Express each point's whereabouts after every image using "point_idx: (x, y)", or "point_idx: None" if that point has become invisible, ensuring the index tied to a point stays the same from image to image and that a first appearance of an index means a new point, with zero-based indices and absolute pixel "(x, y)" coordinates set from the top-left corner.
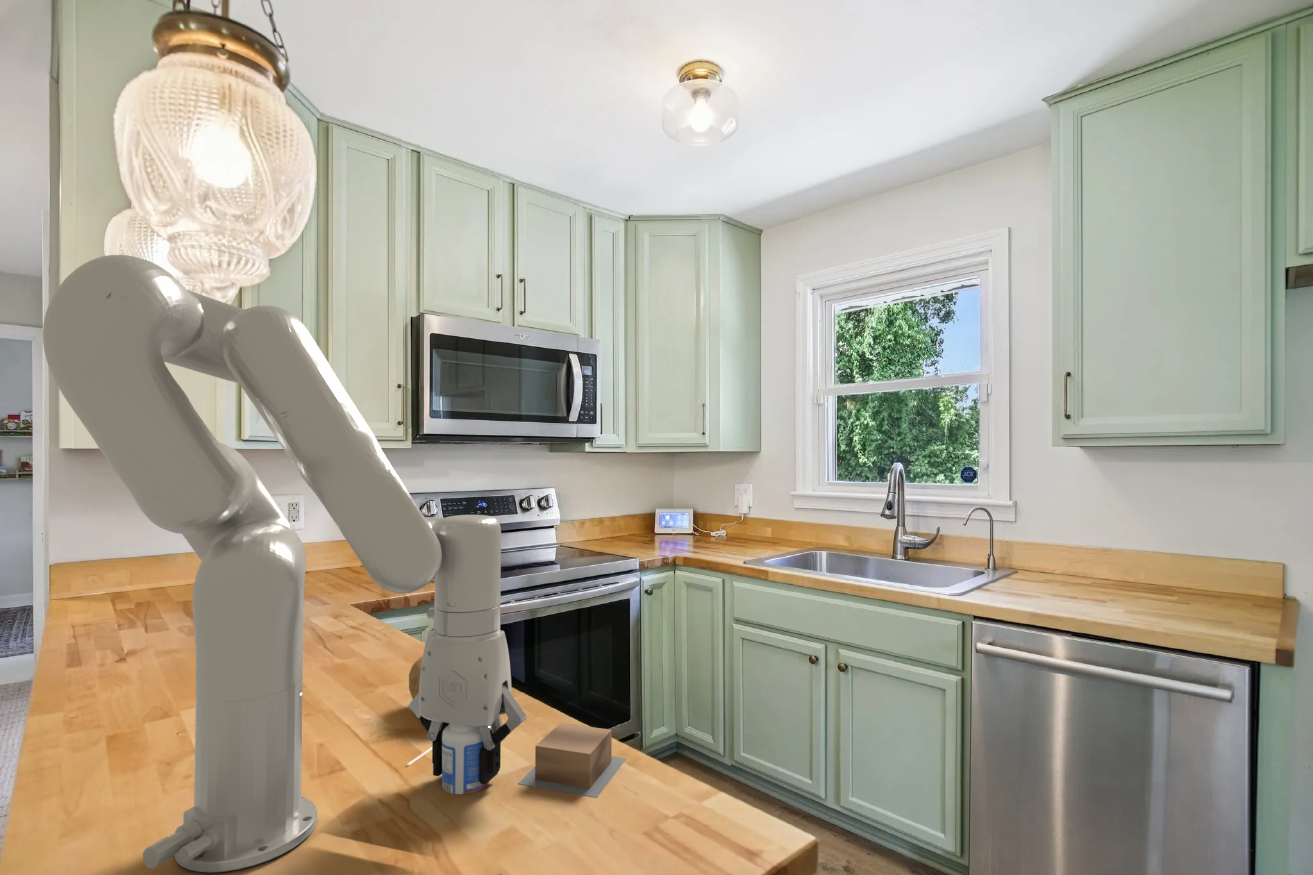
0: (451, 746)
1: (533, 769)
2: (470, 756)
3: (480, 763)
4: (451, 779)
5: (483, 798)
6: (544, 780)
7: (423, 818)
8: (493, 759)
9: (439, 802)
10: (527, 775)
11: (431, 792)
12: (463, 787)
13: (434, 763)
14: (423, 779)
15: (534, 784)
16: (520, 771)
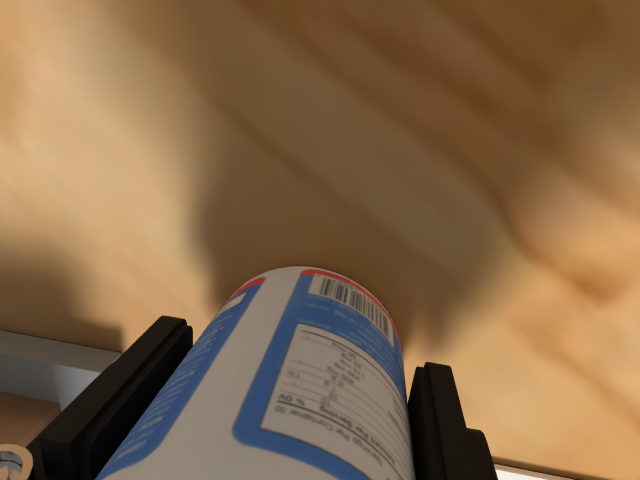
0: (261, 452)
1: None
2: (157, 403)
3: (129, 379)
4: (310, 308)
5: (215, 302)
6: (22, 397)
7: (380, 117)
8: (63, 411)
9: (372, 251)
10: None
11: (445, 318)
12: (257, 293)
13: (450, 405)
14: (527, 406)
15: (41, 372)
16: None
